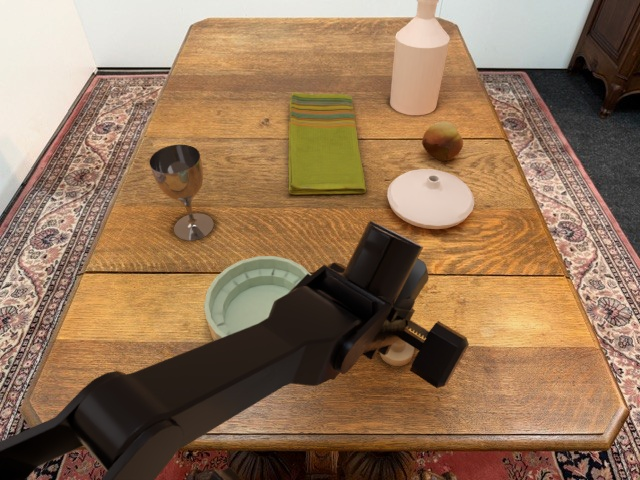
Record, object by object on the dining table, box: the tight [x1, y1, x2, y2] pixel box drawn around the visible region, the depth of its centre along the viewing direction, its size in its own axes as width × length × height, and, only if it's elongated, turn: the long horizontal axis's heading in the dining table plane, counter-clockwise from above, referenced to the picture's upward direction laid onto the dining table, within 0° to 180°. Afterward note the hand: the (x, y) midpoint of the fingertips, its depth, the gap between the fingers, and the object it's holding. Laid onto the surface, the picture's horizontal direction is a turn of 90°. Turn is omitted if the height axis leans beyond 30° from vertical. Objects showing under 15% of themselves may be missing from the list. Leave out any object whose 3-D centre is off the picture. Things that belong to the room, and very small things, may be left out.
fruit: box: [421, 120, 464, 162], centre depth 97 cm, size 8×8×8 cm
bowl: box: [203, 255, 312, 341], centre depth 70 cm, size 16×16×5 cm
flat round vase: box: [386, 168, 475, 230], centre depth 86 cm, size 16×16×7 cm
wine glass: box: [149, 144, 215, 241], centre depth 81 cm, size 8×8×15 cm
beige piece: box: [378, 304, 415, 367], centre depth 63 cm, size 5×5×13 cm
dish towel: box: [288, 92, 367, 195], centre depth 103 cm, size 15×36×3 cm, turn 2°
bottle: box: [389, 0, 451, 116], centre depth 107 cm, size 12×12×25 cm
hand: (405, 317), depth 63 cm, fingers open, 9 cm apart
